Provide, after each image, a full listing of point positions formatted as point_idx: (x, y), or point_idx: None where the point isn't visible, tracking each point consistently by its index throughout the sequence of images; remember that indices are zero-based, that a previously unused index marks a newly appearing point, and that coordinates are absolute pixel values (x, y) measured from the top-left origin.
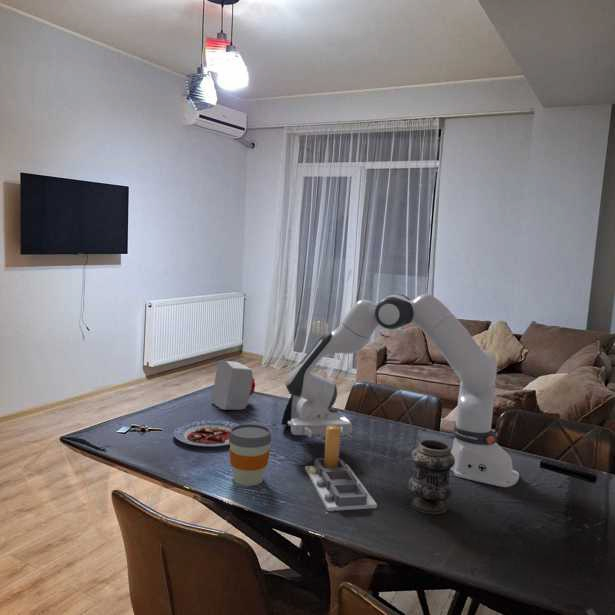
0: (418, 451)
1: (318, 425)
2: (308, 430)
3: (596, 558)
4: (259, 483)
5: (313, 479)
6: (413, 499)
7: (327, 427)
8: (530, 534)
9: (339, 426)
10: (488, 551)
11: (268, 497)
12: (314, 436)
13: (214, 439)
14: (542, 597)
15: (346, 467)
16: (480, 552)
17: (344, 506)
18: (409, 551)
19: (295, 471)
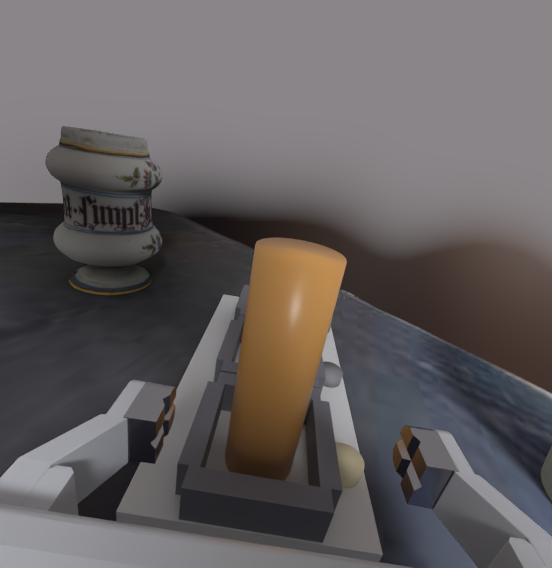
0: (145, 158)
1: (379, 562)
2: (481, 477)
3: (52, 205)
4: (542, 467)
5: (346, 412)
6: (125, 287)
7: (340, 260)
8: (56, 224)
9: (36, 501)
10: None
11: (468, 387)
12: (394, 447)
13: None
14: (173, 216)
15: (212, 382)
16: (163, 235)
17: None
18: (243, 254)
19: (428, 549)
